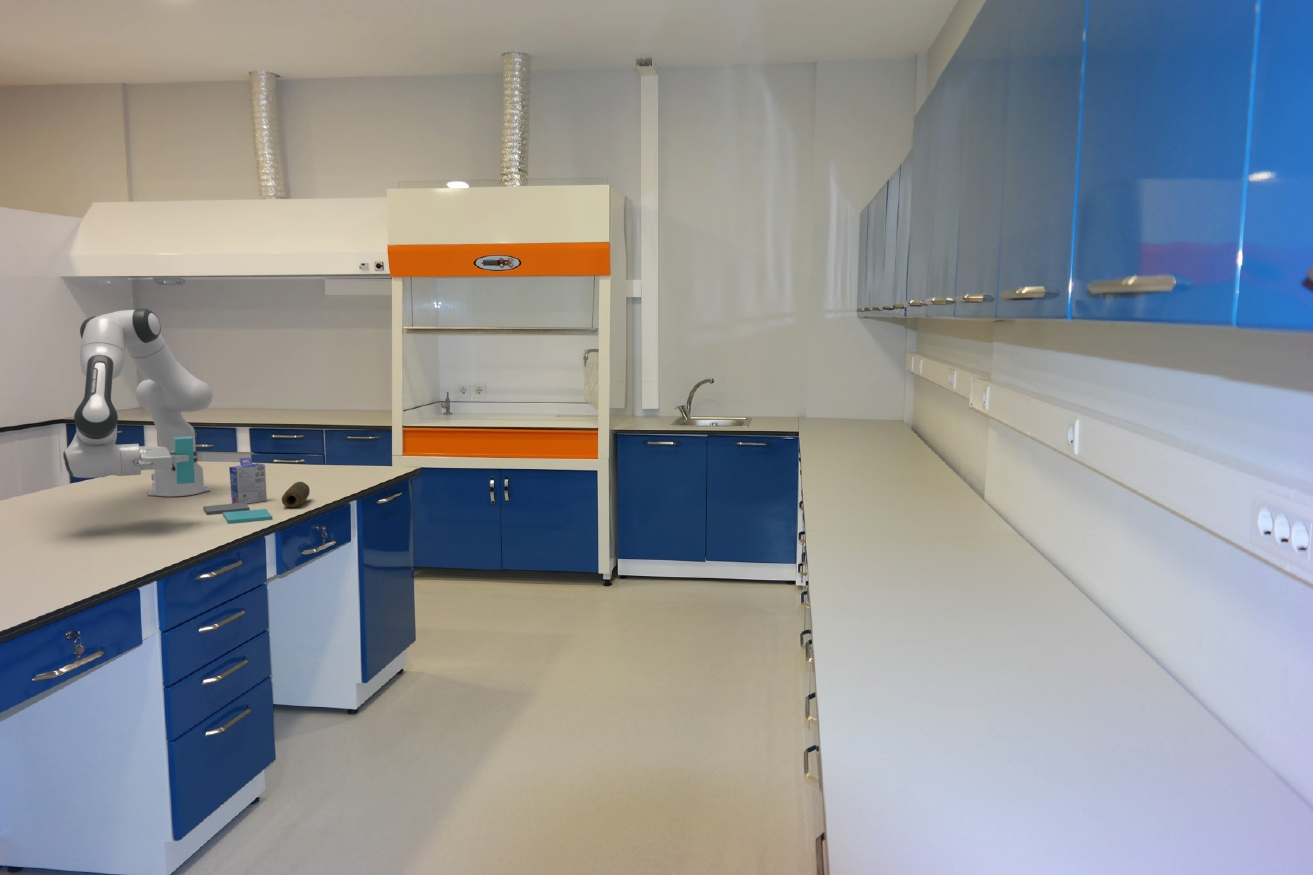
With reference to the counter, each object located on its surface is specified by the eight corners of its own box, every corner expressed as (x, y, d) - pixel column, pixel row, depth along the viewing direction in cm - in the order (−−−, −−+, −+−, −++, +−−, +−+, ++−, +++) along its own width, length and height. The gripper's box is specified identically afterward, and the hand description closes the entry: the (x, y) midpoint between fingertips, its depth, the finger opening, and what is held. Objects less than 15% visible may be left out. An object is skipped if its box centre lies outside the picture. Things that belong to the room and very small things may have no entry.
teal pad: (222, 515, 274) (222, 512, 274) (265, 511, 281) (265, 508, 281) (228, 523, 264) (228, 520, 264) (272, 519, 271) (272, 516, 271)
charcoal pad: (203, 509, 283) (203, 506, 282) (245, 505, 289) (244, 502, 289) (206, 514, 275) (206, 511, 275) (249, 511, 281) (249, 507, 281)
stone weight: (288, 500, 299) (287, 480, 298) (310, 499, 301) (310, 480, 300) (281, 510, 285) (280, 489, 284) (304, 509, 286) (303, 488, 285)
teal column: (176, 481, 263) (173, 437, 261) (193, 480, 265) (191, 436, 264) (177, 484, 259) (175, 439, 258) (194, 482, 262) (192, 438, 260)
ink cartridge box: (259, 498, 300) (257, 455, 298) (268, 501, 297) (266, 457, 295) (229, 503, 292) (228, 459, 291) (238, 505, 289) (236, 461, 287)
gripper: (133, 453, 245) (190, 450, 253) (130, 443, 262) (183, 441, 270) (135, 476, 246) (191, 472, 254) (131, 465, 263) (184, 461, 271)
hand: (187, 456), depth 262 cm, fingers closed on teal column, 4 cm apart
